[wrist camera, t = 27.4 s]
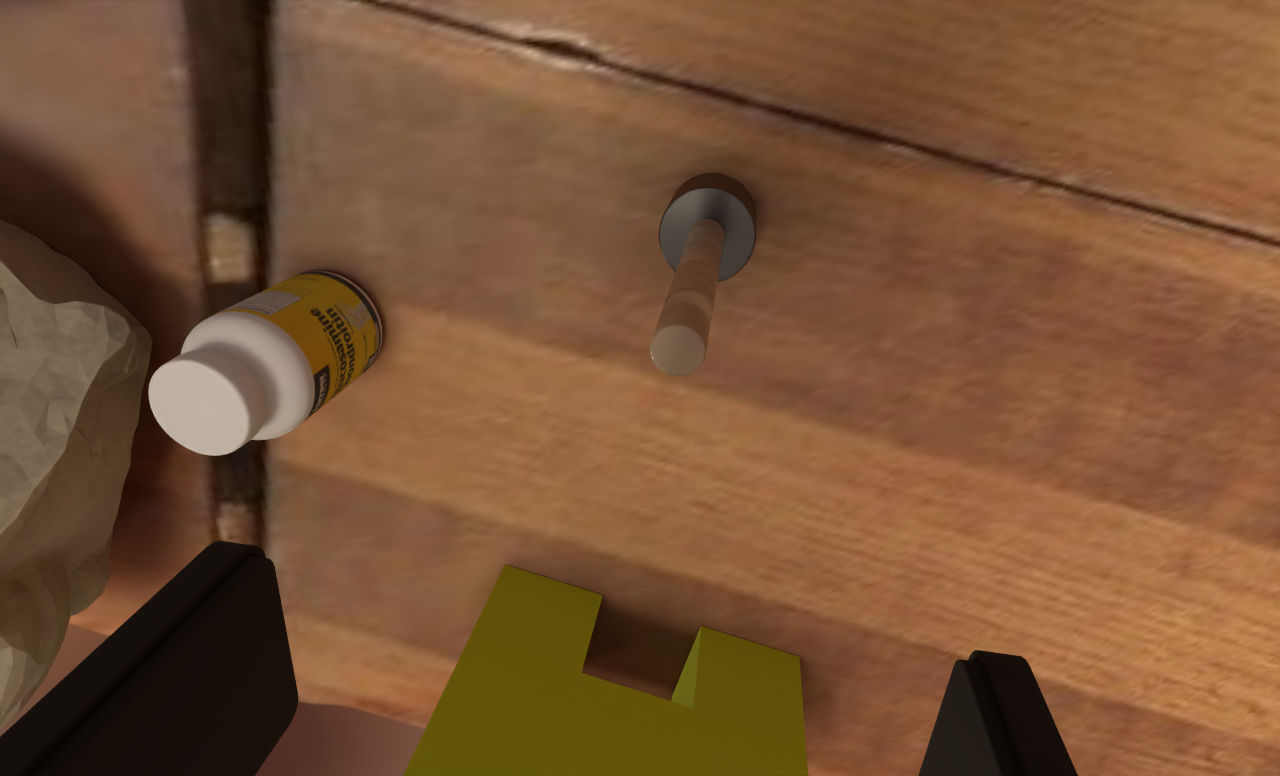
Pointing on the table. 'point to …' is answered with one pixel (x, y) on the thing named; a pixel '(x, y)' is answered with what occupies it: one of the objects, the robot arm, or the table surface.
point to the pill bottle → (266, 363)
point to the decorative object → (605, 701)
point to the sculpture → (58, 449)
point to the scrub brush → (699, 264)
